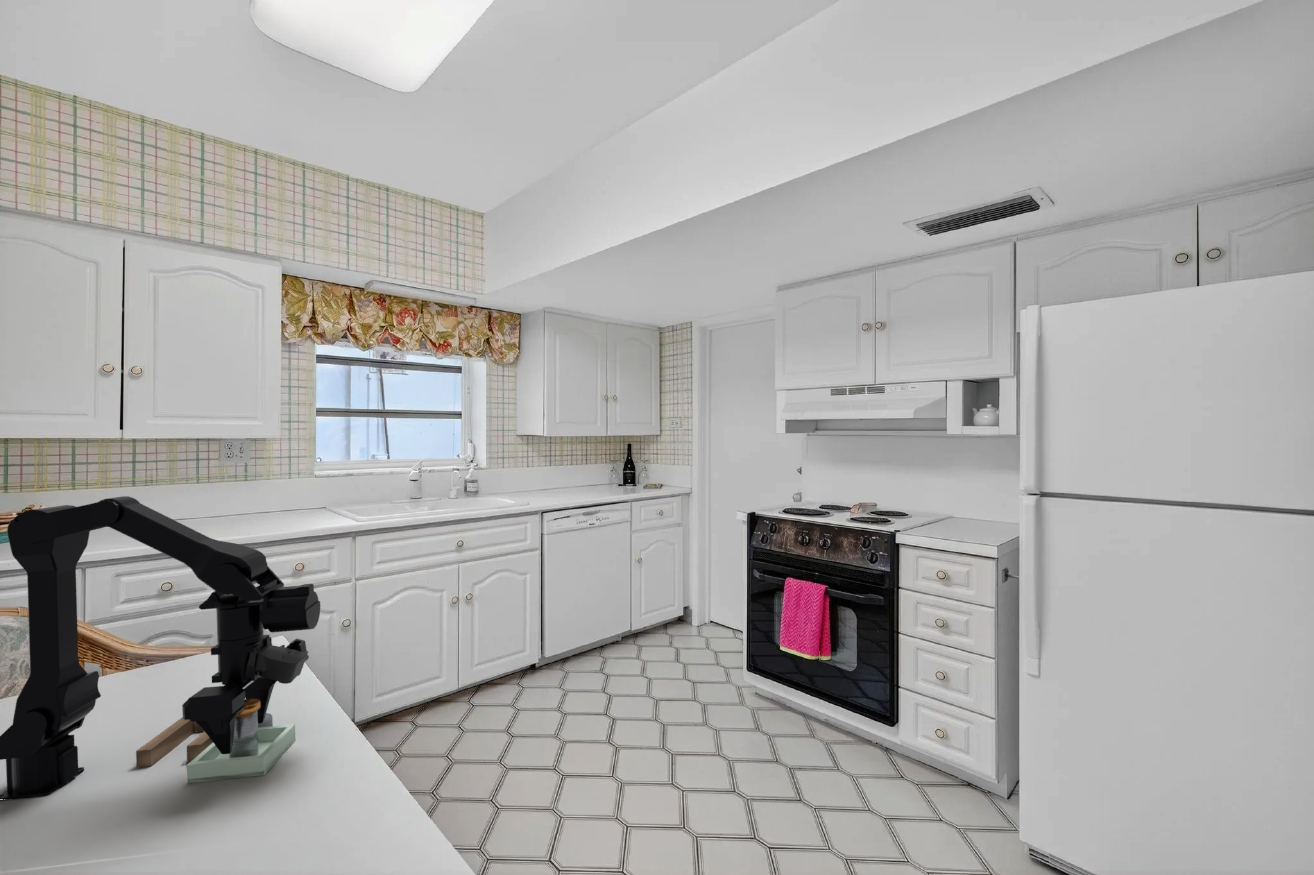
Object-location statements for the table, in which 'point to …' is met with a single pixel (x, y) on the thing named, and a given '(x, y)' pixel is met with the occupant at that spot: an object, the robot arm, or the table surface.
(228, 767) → the tray
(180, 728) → the brown u-shaped piece
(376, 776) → the table surface
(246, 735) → the pin
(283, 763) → the table surface
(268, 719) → the pulley
